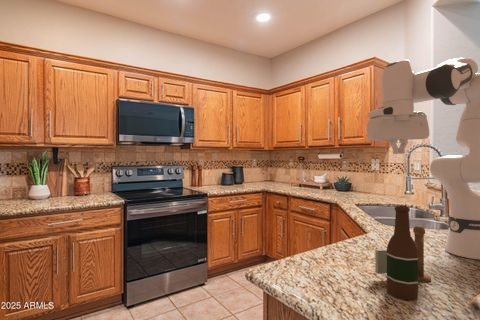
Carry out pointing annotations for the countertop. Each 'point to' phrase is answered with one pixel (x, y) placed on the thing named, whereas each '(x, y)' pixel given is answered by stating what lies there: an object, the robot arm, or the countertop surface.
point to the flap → (381, 261)
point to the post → (420, 253)
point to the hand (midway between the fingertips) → (398, 153)
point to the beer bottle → (402, 259)
